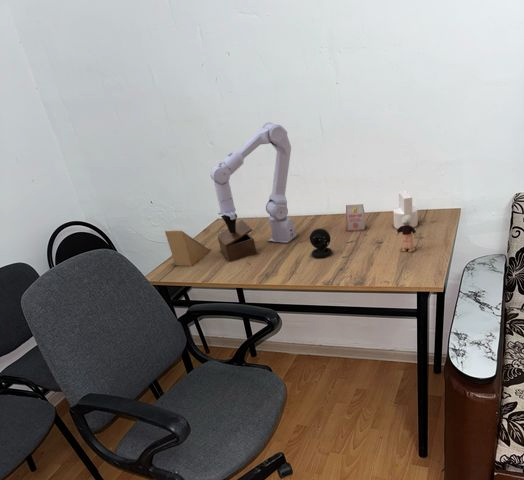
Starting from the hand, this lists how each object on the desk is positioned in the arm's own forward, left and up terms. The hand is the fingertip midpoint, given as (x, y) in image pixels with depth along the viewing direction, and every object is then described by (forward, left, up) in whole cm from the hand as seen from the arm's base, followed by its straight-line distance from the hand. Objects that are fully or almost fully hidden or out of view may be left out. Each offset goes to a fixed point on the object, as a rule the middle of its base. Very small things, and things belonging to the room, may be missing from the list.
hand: (232, 232), depth 189 cm
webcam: (-36, -6, -9) cm, 38 cm away
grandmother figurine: (-65, -16, -9) cm, 68 cm away
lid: (0, -1, -1) cm, 1 cm away
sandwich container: (+17, +9, -9) cm, 21 cm away
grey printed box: (-38, -31, -9) cm, 50 cm away
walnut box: (0, 0, -9) cm, 9 cm away
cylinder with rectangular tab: (-56, -38, -9) cm, 69 cm away
